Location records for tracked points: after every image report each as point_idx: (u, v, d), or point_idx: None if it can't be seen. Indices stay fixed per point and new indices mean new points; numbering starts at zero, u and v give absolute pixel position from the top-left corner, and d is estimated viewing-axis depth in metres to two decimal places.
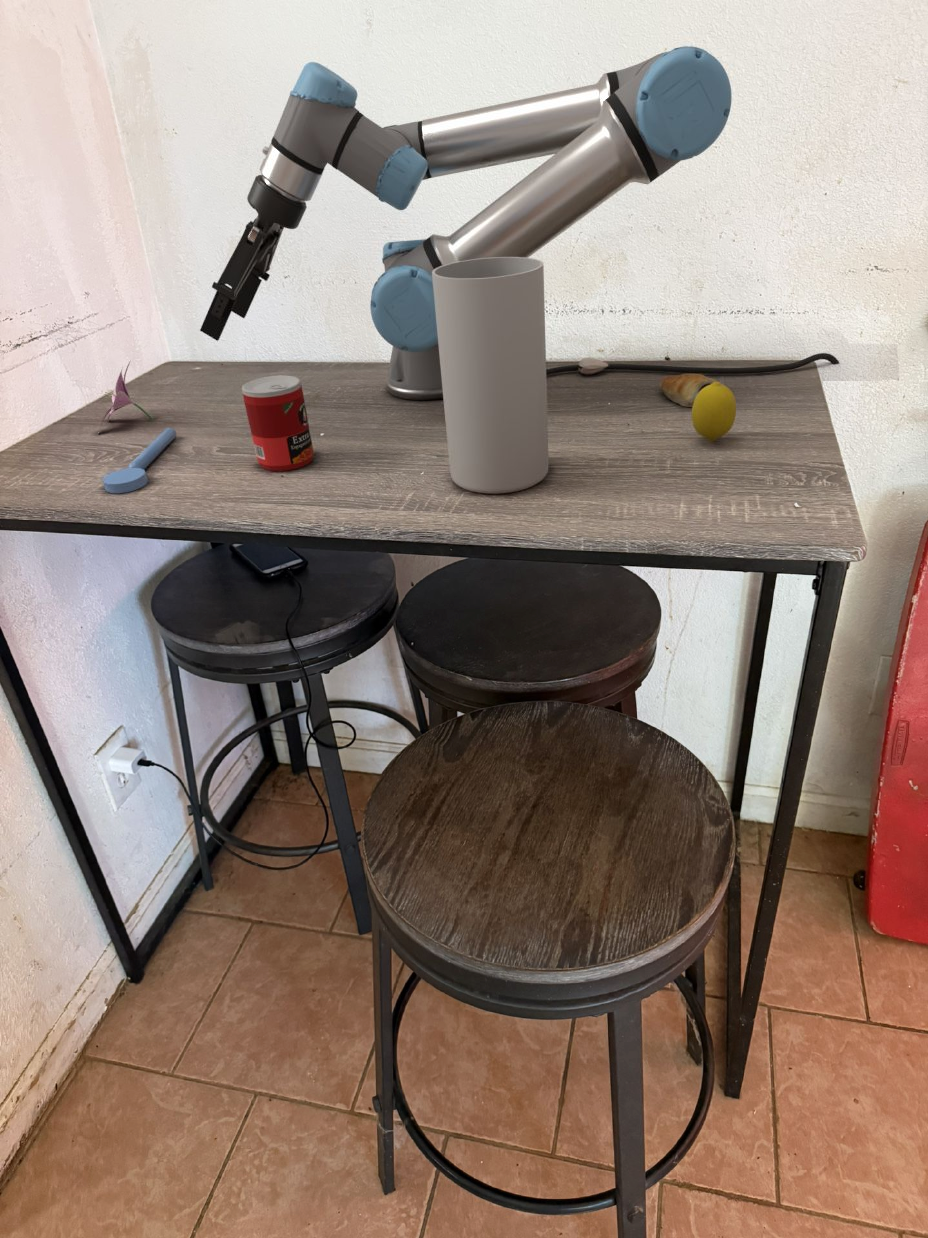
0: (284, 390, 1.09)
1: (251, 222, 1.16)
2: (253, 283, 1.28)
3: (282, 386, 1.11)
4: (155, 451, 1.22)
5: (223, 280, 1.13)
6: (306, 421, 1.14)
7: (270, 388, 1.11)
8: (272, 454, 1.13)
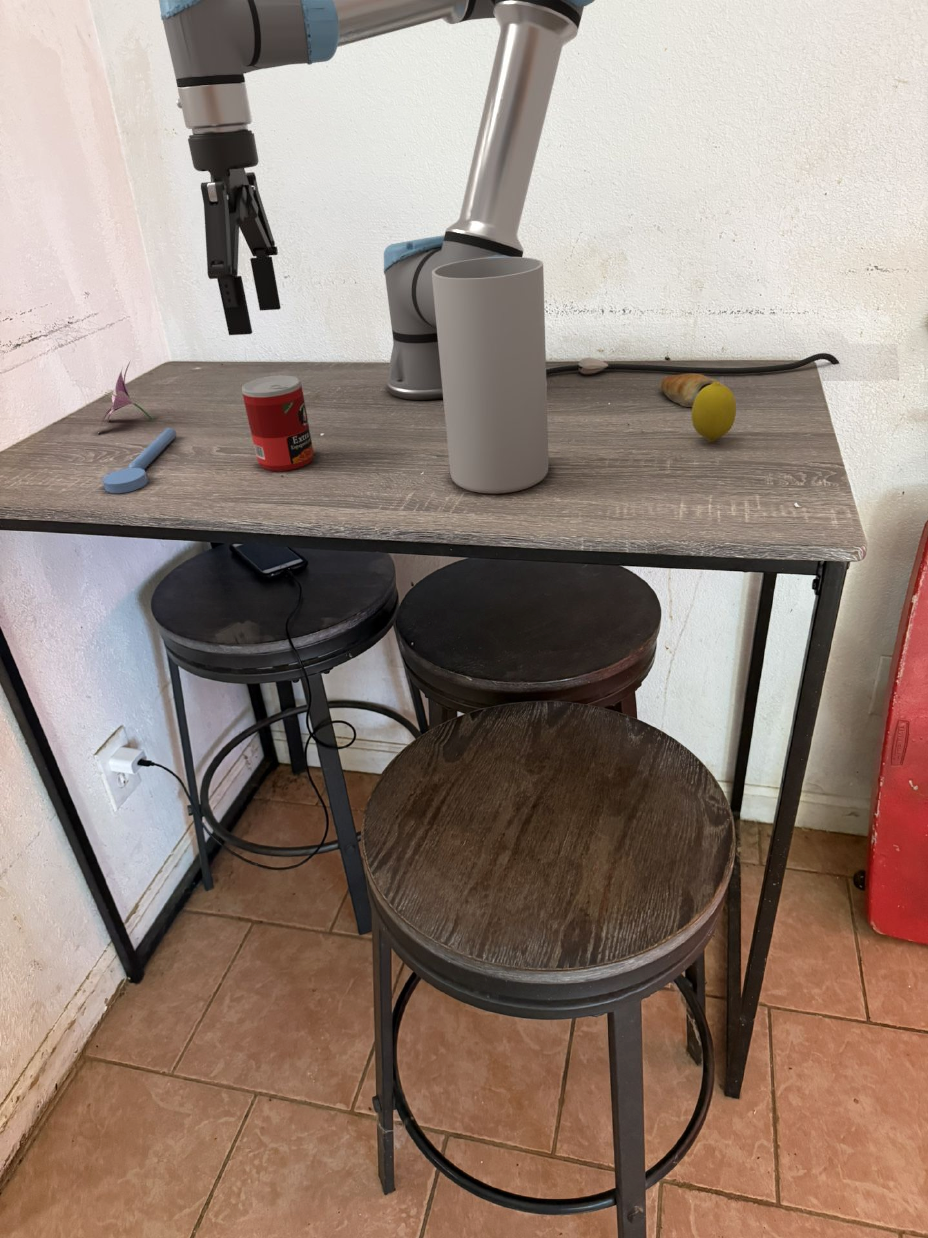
0: (284, 390, 1.09)
1: None
2: (265, 265, 1.10)
3: (282, 386, 1.11)
4: (155, 451, 1.22)
5: (211, 259, 0.95)
6: (306, 421, 1.14)
7: (270, 388, 1.11)
8: (272, 454, 1.13)
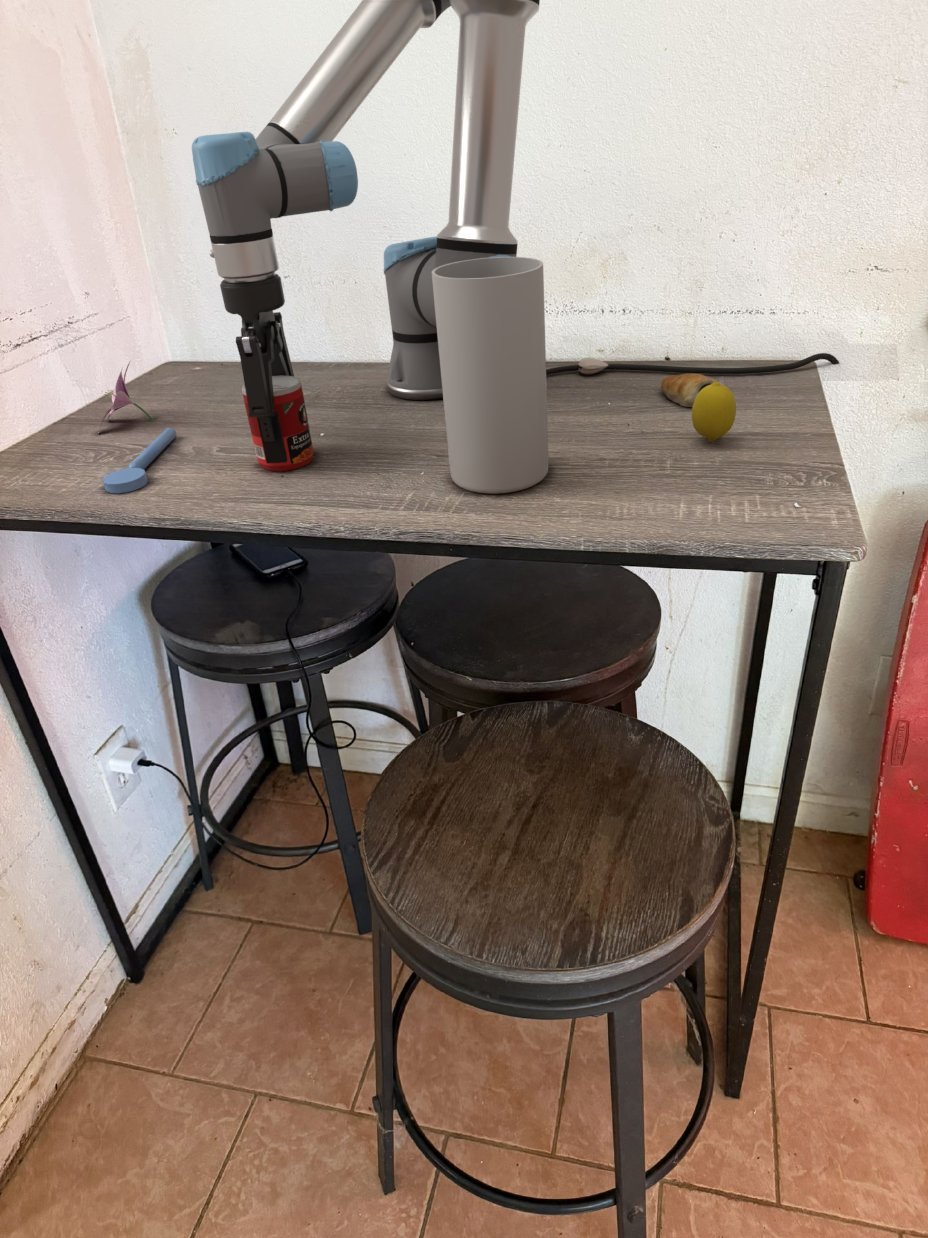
0: (284, 390, 1.09)
1: (242, 329, 1.07)
2: None
3: (282, 386, 1.11)
4: (155, 451, 1.22)
5: (252, 405, 1.06)
6: (306, 421, 1.14)
7: None
8: None
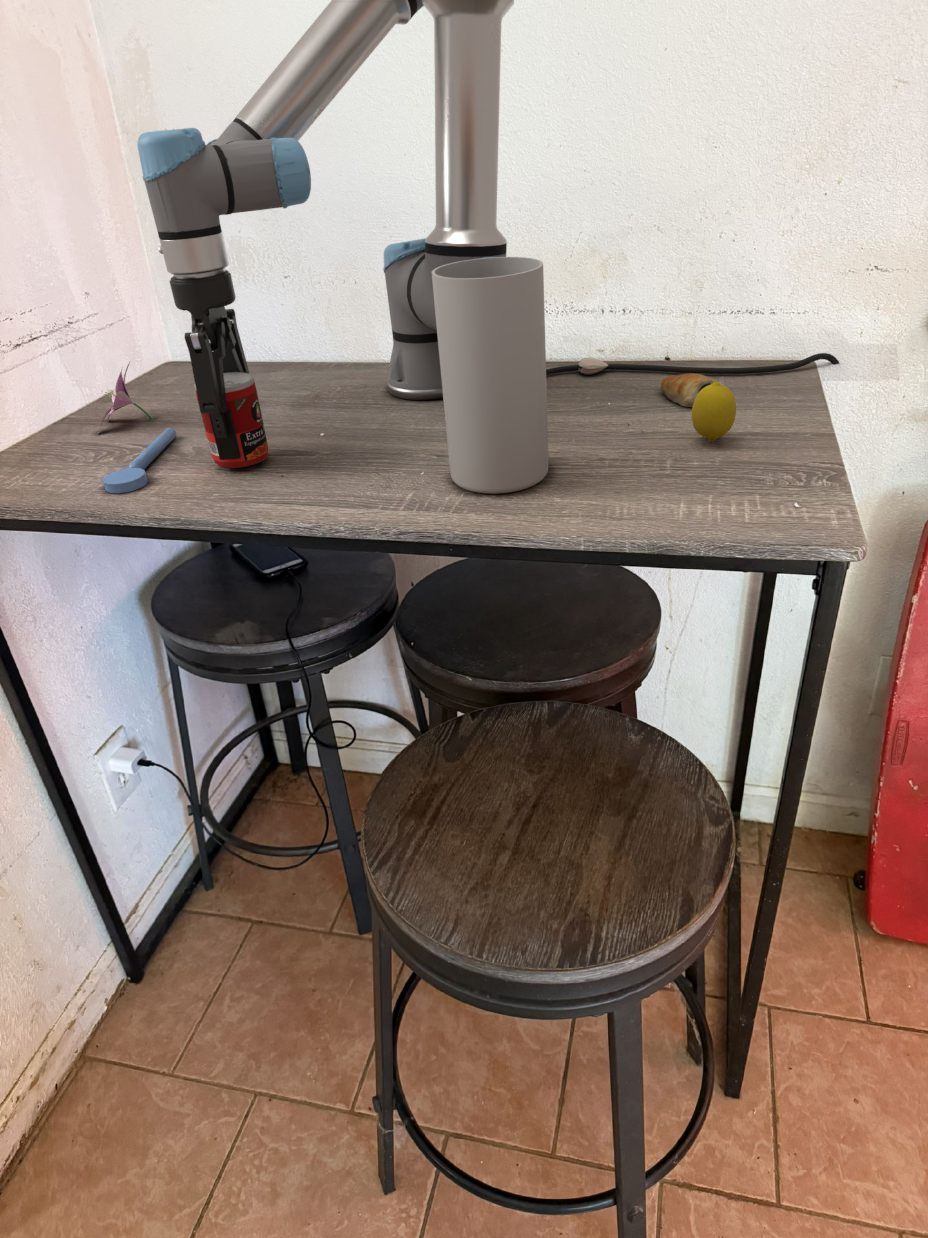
0: (236, 386, 1.09)
1: None
2: None
3: (235, 382, 1.11)
4: (155, 451, 1.22)
5: (203, 402, 1.06)
6: (260, 418, 1.14)
7: None
8: None
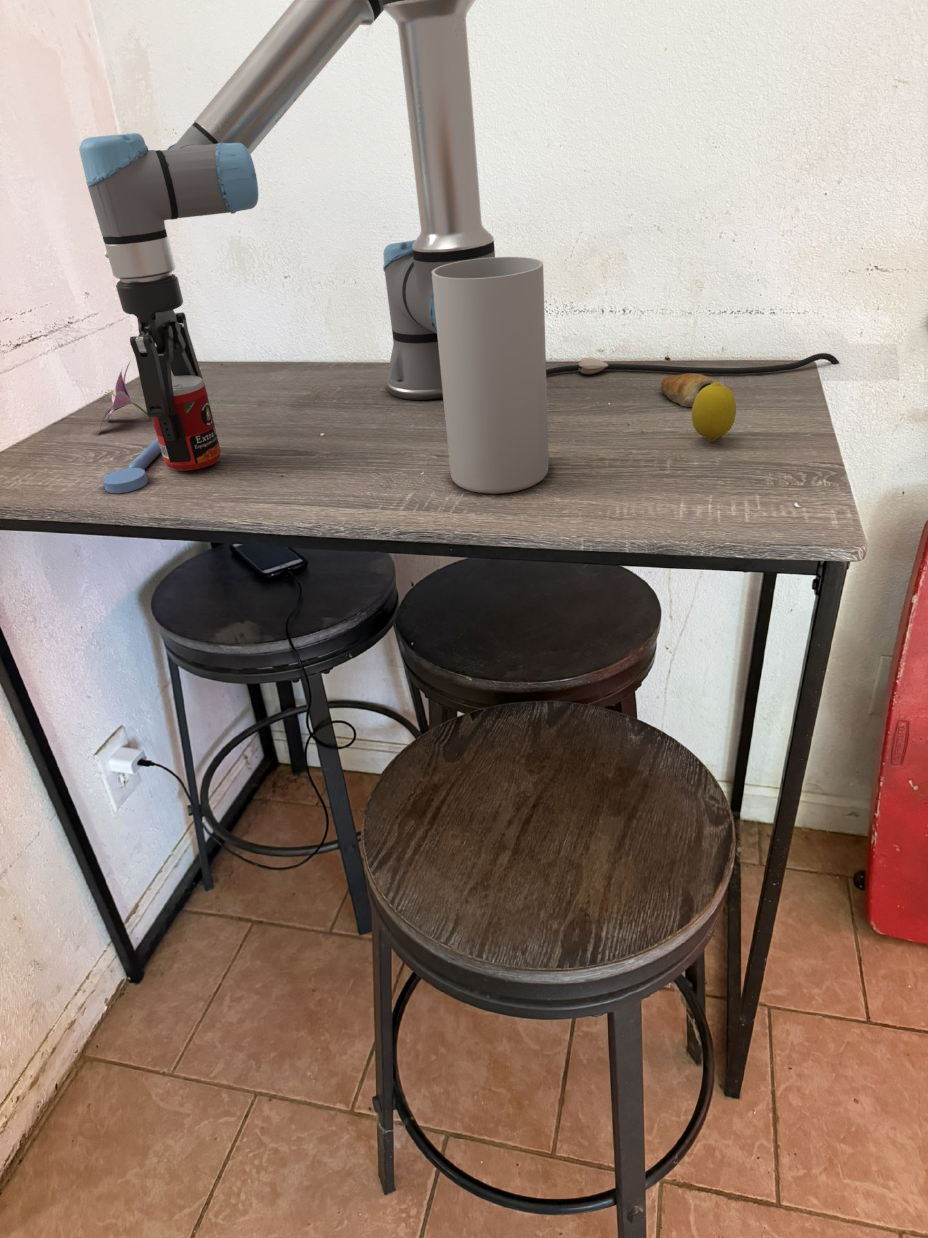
0: (184, 390, 1.10)
1: None
2: None
3: (184, 386, 1.12)
4: (155, 451, 1.22)
5: (150, 405, 1.07)
6: (210, 421, 1.15)
7: None
8: None
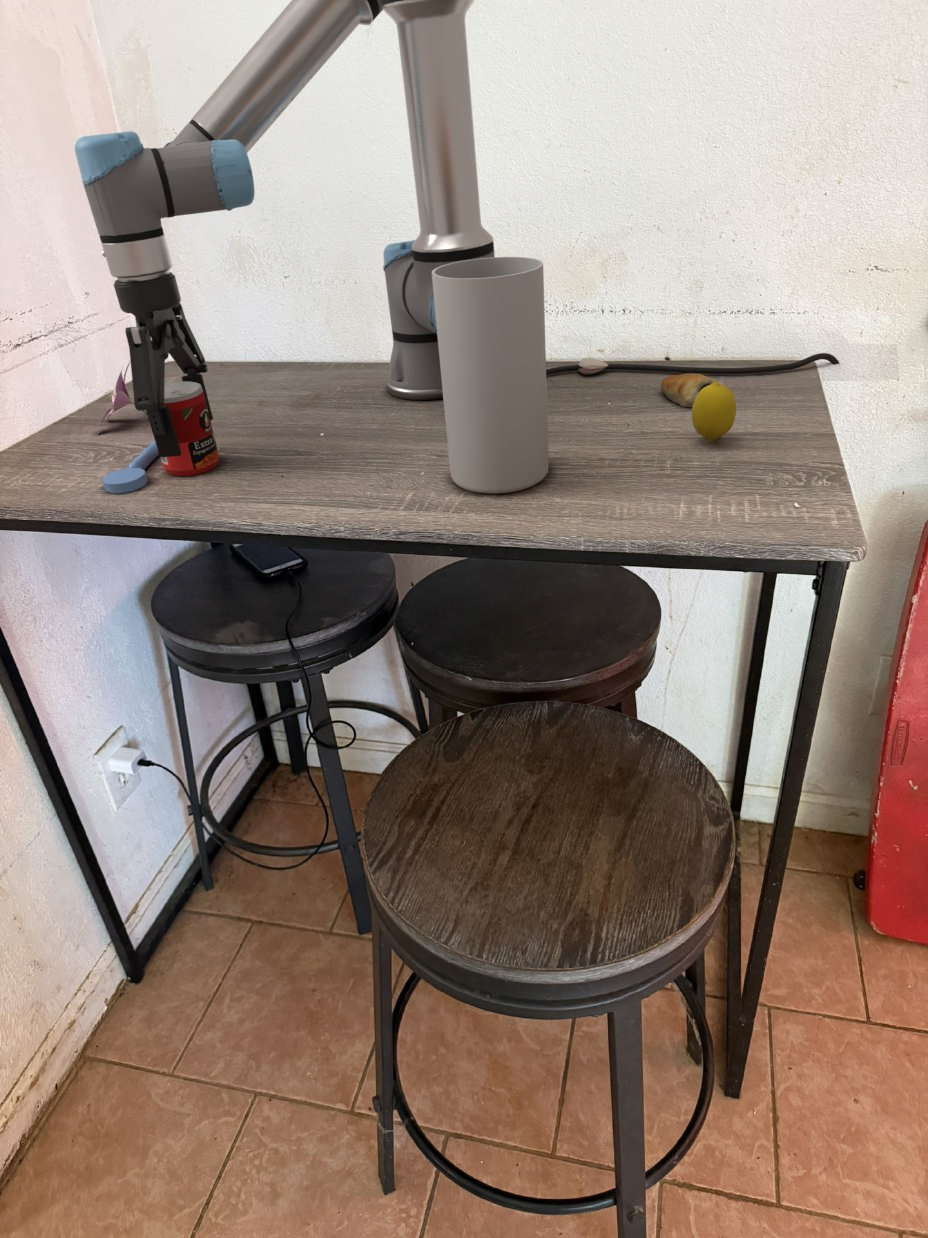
0: (183, 396, 1.10)
1: None
2: None
3: (182, 392, 1.12)
4: (155, 451, 1.22)
5: (138, 396, 1.04)
6: (209, 427, 1.15)
7: (170, 394, 1.12)
8: (174, 460, 1.14)
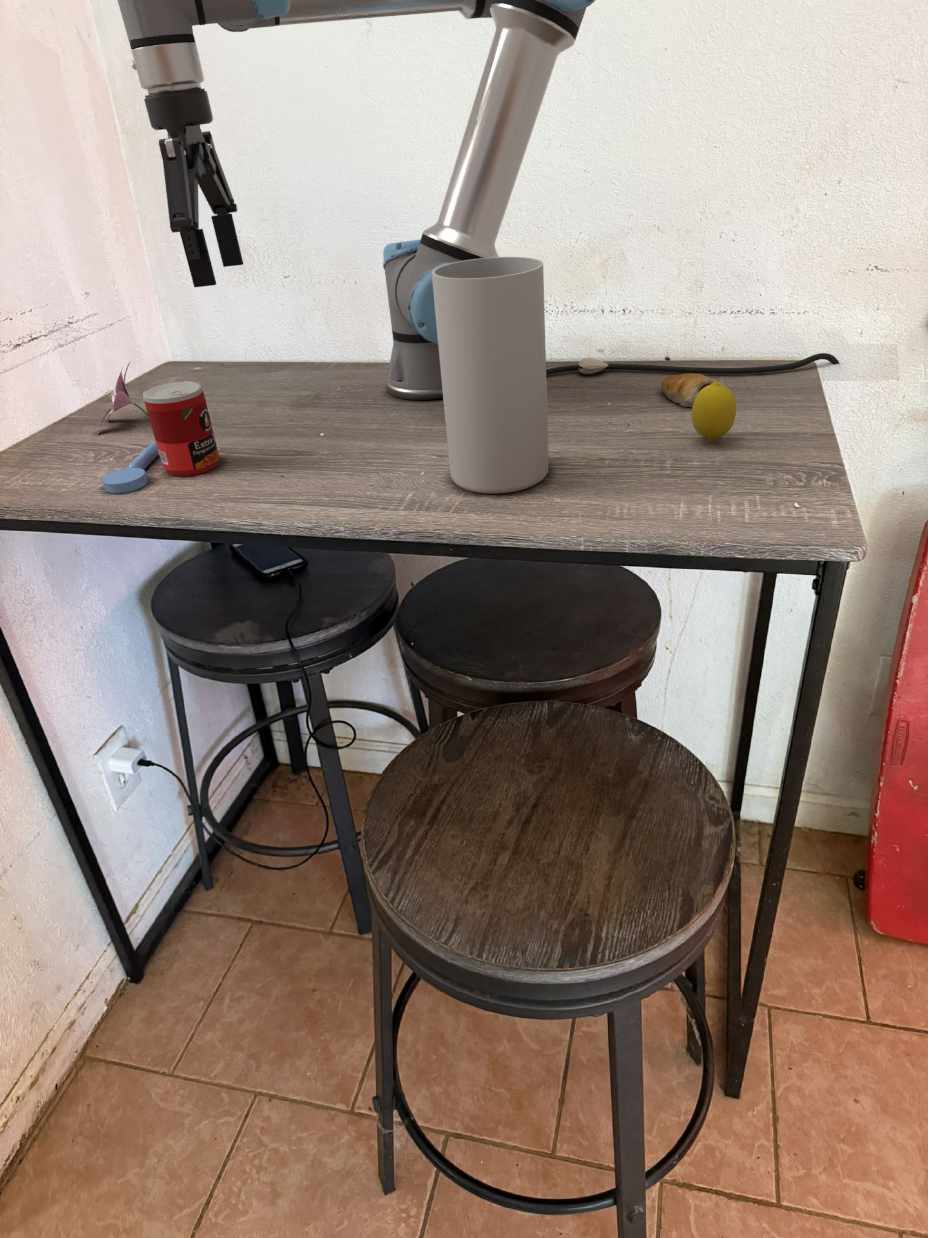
0: (183, 396, 1.10)
1: None
2: (225, 221, 1.15)
3: (182, 392, 1.12)
4: (155, 451, 1.22)
5: (173, 213, 1.00)
6: (209, 427, 1.15)
7: (170, 394, 1.12)
8: (174, 460, 1.14)
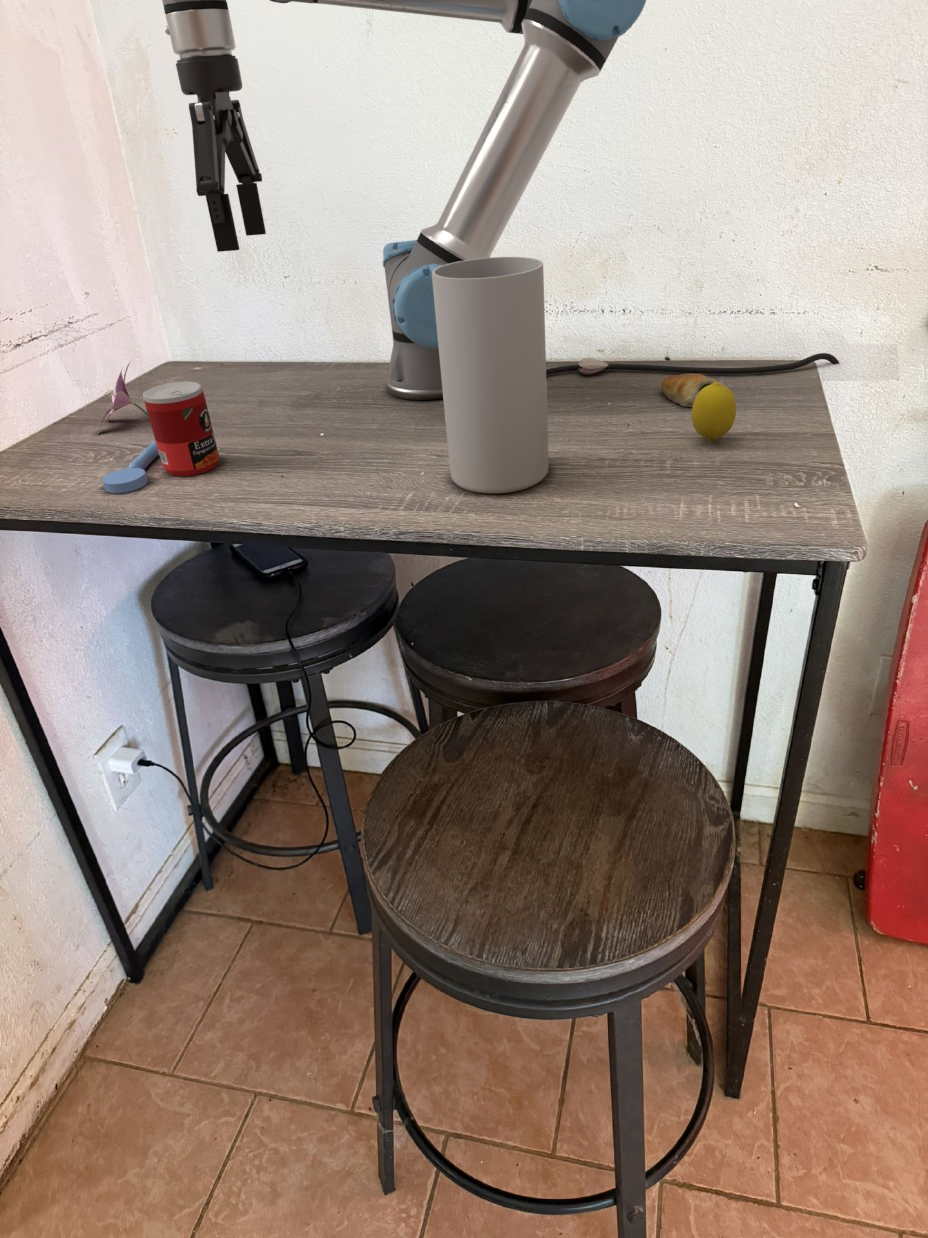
0: (183, 396, 1.10)
1: None
2: (250, 190, 1.17)
3: (182, 392, 1.12)
4: (155, 451, 1.22)
5: (200, 175, 1.02)
6: (209, 427, 1.15)
7: (170, 394, 1.12)
8: (174, 460, 1.14)
